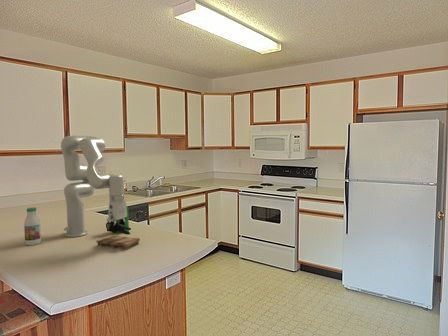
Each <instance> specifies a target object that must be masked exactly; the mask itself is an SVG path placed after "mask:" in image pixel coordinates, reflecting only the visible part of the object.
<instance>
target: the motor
mask: <svg viewBox="0 0 448 336" xmlns="http://www.w3.org/2000/svg"><path fill="white" fill-rule="evenodd" d="M126 208H127V214H128V215H127V217H126V219H125V226H127V227H129V228H130V224H129V223H130V222H129V221H130V220H129V206H128V205H126ZM113 222H114V221H113ZM116 222H117V223H118V224H119V222H120V220H116ZM124 230H125V231H128V232H130V230H126V229H124ZM113 234H114V235H118V234H121V235H123V233H120V232H118V231H117V232H116V233H113Z"/></svg>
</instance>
